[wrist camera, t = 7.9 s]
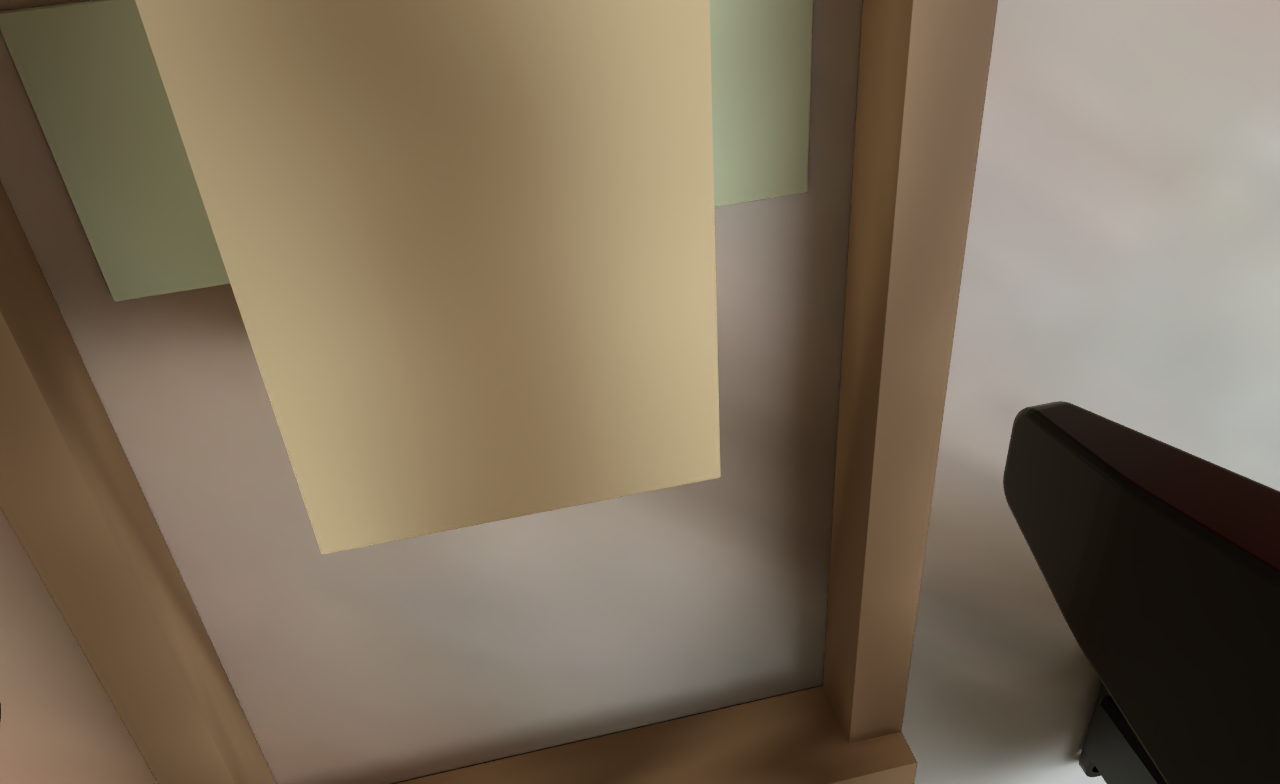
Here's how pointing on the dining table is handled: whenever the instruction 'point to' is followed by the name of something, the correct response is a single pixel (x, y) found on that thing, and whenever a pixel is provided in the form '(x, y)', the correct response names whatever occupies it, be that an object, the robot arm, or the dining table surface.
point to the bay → (743, 171)
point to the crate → (461, 244)
